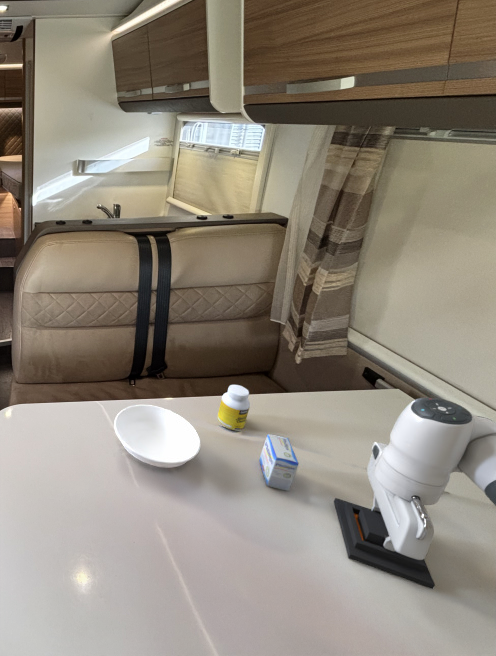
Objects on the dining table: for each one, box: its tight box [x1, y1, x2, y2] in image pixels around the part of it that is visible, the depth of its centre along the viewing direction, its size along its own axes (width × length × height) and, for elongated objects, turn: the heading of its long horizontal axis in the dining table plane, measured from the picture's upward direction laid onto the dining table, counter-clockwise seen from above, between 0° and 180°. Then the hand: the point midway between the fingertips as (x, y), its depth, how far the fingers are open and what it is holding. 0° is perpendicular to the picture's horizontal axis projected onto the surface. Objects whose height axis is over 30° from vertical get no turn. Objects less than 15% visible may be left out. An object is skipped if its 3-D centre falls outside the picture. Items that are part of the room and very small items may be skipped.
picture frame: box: [333, 497, 436, 590], centre depth 84 cm, size 12×14×3 cm
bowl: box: [113, 404, 201, 469], centre depth 105 cm, size 20×20×6 cm
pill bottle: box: [216, 384, 251, 434], centre depth 112 cm, size 6×6×12 cm
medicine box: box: [258, 433, 299, 492], centre depth 97 cm, size 8×4×9 cm, turn 161°
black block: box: [357, 508, 398, 553], centre depth 83 cm, size 6×6×3 cm
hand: (382, 530), depth 83 cm, fingers closed on black block, 6 cm apart
